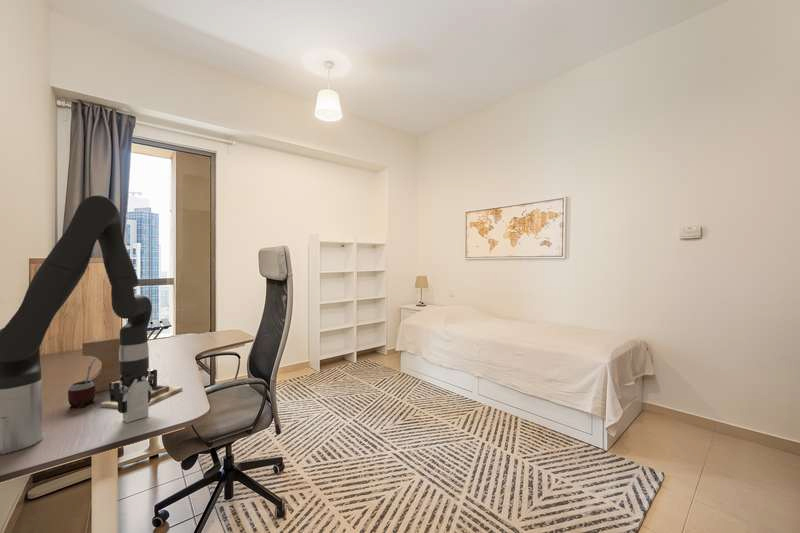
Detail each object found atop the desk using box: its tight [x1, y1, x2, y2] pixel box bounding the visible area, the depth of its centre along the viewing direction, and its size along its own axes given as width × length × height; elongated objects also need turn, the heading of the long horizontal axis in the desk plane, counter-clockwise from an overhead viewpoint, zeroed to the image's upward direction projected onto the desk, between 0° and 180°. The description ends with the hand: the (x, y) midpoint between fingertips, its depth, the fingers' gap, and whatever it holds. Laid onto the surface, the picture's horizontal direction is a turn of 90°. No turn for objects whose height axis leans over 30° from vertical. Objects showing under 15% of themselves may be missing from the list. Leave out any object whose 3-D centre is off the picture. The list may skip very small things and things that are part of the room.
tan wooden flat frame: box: [100, 384, 183, 409], centre depth 123 cm, size 18×16×3 cm
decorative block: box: [81, 336, 121, 394], centre depth 132 cm, size 11×6×20 cm, turn 134°
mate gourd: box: [67, 358, 97, 409], centre depth 118 cm, size 8×8×15 cm
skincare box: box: [122, 378, 149, 424], centre depth 107 cm, size 6×4×12 cm
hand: (135, 407), depth 107 cm, fingers closed on skincare box, 7 cm apart
